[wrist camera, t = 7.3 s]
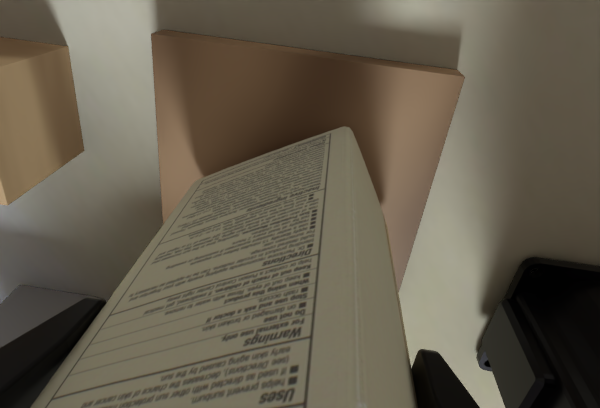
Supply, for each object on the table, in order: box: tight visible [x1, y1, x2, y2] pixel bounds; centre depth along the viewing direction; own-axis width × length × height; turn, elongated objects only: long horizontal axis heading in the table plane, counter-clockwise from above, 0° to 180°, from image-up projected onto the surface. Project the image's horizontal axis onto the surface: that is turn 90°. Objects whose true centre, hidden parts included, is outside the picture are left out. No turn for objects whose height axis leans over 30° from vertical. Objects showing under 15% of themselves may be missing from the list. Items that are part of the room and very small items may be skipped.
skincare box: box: [30, 126, 418, 408], centre depth 10 cm, size 6×4×12 cm
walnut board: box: [151, 30, 465, 292], centre depth 16 cm, size 10×10×1 cm
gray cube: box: [0, 285, 98, 347], centre depth 20 cm, size 4×4×4 cm
